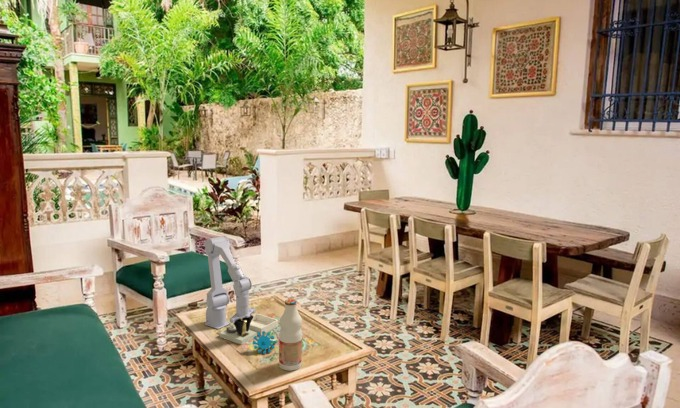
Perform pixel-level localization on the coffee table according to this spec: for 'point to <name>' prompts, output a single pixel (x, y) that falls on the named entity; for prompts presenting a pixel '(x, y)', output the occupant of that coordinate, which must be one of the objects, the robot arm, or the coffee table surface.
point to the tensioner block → (237, 335)
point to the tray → (262, 323)
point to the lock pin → (244, 328)
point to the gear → (264, 342)
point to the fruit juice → (290, 337)
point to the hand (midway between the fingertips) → (242, 332)
